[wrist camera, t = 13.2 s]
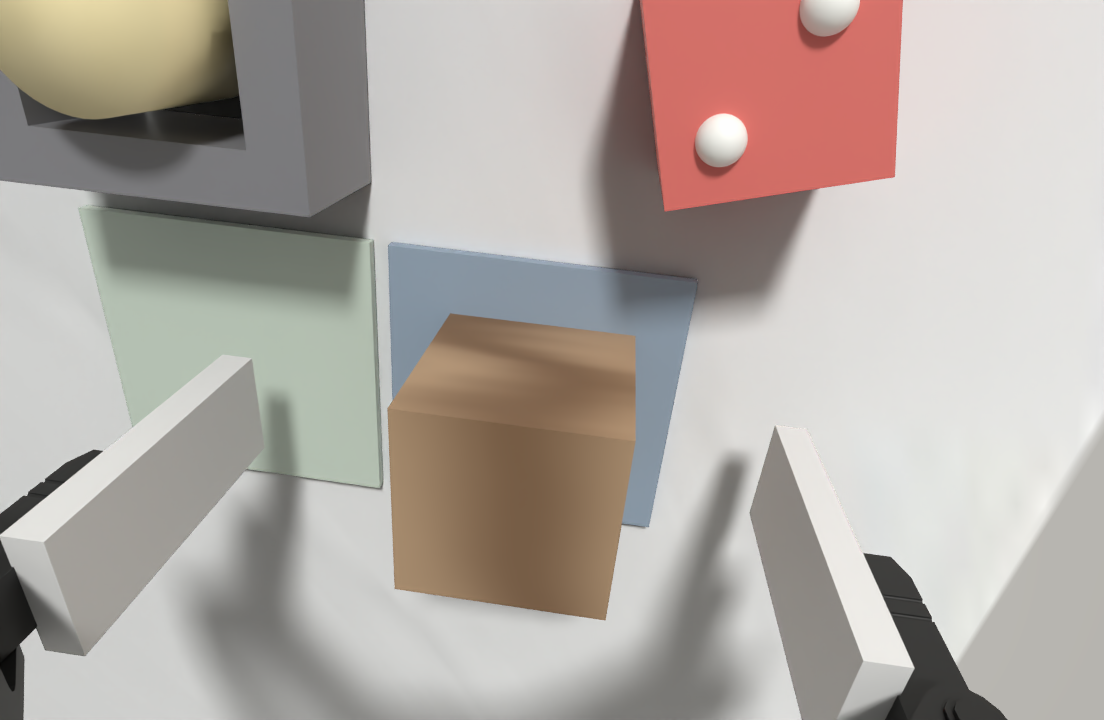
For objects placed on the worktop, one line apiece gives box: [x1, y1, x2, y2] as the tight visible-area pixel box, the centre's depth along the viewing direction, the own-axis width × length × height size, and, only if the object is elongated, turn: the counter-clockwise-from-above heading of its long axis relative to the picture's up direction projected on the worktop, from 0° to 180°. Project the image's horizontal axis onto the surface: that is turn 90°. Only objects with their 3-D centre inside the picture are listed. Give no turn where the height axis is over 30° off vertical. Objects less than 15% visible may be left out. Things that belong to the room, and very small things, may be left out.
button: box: [0, 0, 239, 119], centre depth 13 cm, size 4×4×4 cm
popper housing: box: [0, 0, 371, 217], centre depth 14 cm, size 7×7×4 cm
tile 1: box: [78, 205, 383, 488], centre depth 19 cm, size 8×8×1 cm
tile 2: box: [388, 242, 698, 527], centre depth 19 cm, size 8×8×1 cm
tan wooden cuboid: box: [388, 313, 636, 620], centre depth 16 cm, size 5×5×5 cm
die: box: [640, 0, 903, 211], centre depth 12 cm, size 4×4×4 cm
